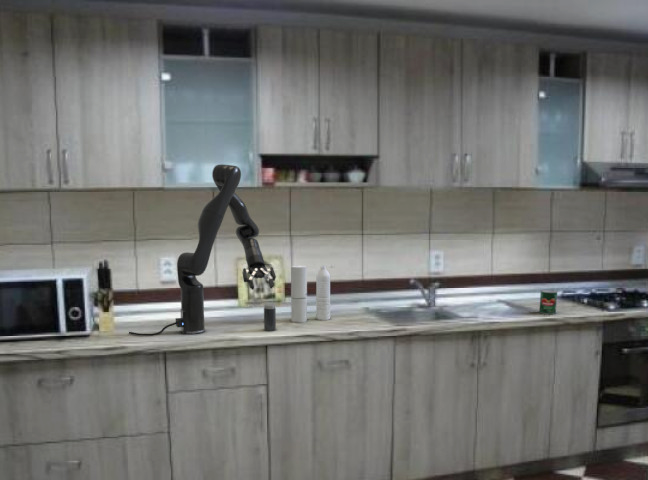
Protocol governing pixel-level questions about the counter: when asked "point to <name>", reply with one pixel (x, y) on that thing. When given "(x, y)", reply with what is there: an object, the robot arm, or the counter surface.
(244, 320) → the counter surface
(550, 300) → the canned tomato
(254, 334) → the counter surface
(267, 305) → the salt shaker
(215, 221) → the robot arm
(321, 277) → the water bottle
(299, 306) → the cylindrical container
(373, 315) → the counter surface
